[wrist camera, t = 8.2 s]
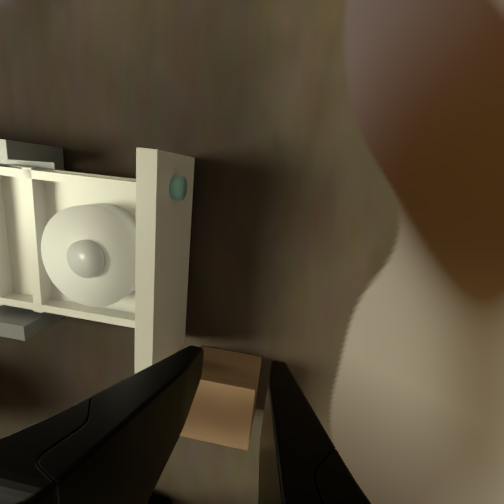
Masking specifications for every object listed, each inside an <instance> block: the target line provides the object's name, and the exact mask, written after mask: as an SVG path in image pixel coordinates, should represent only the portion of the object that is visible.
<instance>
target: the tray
mask: <svg viewBox="0 0 504 504" xmlns="http://www.w3.org/2000/svg"><path fill="white" fill-rule="evenodd" d="M194 162H195V158H193V157H189V156H184V155H180V154H175V153H171V152H166V151H161V150H156V149H146V148H137V147H136V179H134V178H126V177H117V176H108V175H100V174H91V173H82V172H73V171H65V170H56V169H47V168H38V167H30V166H21V165H12V164H3V163H0V306H2V305H8V306H13V307H19V308H25V309H30V310H34V312H39V313H43V312H47V313H53V314H59V315H64V316H70V317H75V318H81V319H87V320H92V321H98V322H104V323H109V324H115V325H121V326H126V327H132V328H135V373H137V372H139V371H141V370H143V369H145V368H147V367H149V366H151V365H153V364H155V363H157V362H159V361H161V360H163V359H165V358H167V357H169V356H171V355H172V354H174V353H176V352H177V350H178V349H179V348H180V346H181V345H182V343H183V342H184V341H185V328H186V310H187V291H188V273H189V254H190V236H191V217H192V199H193V180H194ZM97 203H105V204H111V205H114V206H117V207H120V208H122V209H124V210H125V211H127V212H128V213H130V214H131V215H132V216H133V217H134V218H135V219H136V255H135V290H134V291H133V292H131V293H130V294H128V295H127V296H125V297H124V298H122V299H121V300H119V301H118V302H116V303H114V304H112V305H108V306H103V307H92V306H86V305H83V304H80V303H77V302H75V301H73V300H71V299H70V298H68V297H67V296H66V295H64V294H63V293H62V292H61V291H60V290H59V289H58V288H57V287H56V286H55V285H54V283H53V282H52V281H51V279H50V277H49V276H48V274H47V272H46V270H45V267H44V264H43V260H42V255H41V240H42V235H43V232H44V229H45V227H46V225H47V223H48V222H49V220H50V219H51V218H52V217H53V216H54V215H55V214H57V213H58V212H60V211H61V210H63V209H66V208H68V207H72V206H79V205H88V204H97Z"/></svg>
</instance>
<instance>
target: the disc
mask: <svg viewBox="0 0 504 504" xmlns="http://www.w3.org/2000/svg"><path fill="white" fill-rule="evenodd" d="M41 255H42V260H43V264H44V267H45V270H46V272H47V274H48V276H49V277H50V279H51V281H52V282H53V283H54V285H55V286H56V287H57V288H58V289H59V290H60V291H61V292H62V293H63V294H64V295H66V296H67V297H68V298H70V299H71V300H73V301H75V302H77V303H80V304H83V305H86V306H92V307H103V306H108V305H112V304H114V303H116V302H118V301H119V300H121V299H122V298H124V297H125V296H127V295H128V294H130V293H131V292H133V291H134V290H135V255H136V219H135V218H134V217H133V216H132V215H131V214H130V213H128V212H127V211H125V210H124V209H122V208H120V207H117V206H114V205H111V204H105V203H97V204H88V205H79V206H72V207H68V208H66V209H63V210H61V211H60V212H58V213H57V214H55V215H54V216H53V217H52V218H51V219H50V220H49V222H48V223H47V225H46V227H45V229H44V232H43V235H42V240H41Z"/></svg>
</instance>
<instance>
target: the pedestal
mask: <svg viewBox="0 0 504 504" xmlns="http://www.w3.org/2000/svg"><path fill="white" fill-rule="evenodd" d="M200 347H202V348H203V350H204V355H203V368H202V376H201V380H200V383H199V386H198V388H197V391H196V394H195V397H194V400H193V403H192V405H191V408H190V411H189V414H188V417H187V419H186V422H185V425H184V427H183V430H182V432H181V434H180V436H183V437H188V438H192V439H197V440H202V441H206V442H211V443H215V444H220V445H224V446H229V447H234V448H238V449H243V450H247V451H248V446H249V441H250V435H251V430H252V424H253V419H254V414H255V408H256V400H257V392H258V384H259V376H260V369H261V361H262V357H261V356H256V355H250V354H244V353H239V352H233V351H228V350H222V349H217V348H211V347H205V346H200Z"/></svg>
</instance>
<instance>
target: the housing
mask: <svg viewBox="0 0 504 504" xmlns="http://www.w3.org/2000/svg"><path fill="white" fill-rule="evenodd" d="M0 163H3V164H12V165H21V166H30V167H38V168H47V169H56V170H64V160H63V148H62V147H55V146H47V145H40V144H33V143H26V142H19V141H12V140H4V139H0ZM65 317H66V316H64V315H59V314H53V313H47V312H43V313H39V312H34V310H30V309H25V308H19V307H13V306H8V305H2V306H0V336H2V337H7V338H13V339H18V340H23V341H26V340H27V339H29V338H31V337H32V336H34V335H36V334H37V333H39V332H41V331H43V330H44V329H46V328H48V327H49V326H51V325H53V324H54V323H56V322H58V321H60V320H61V319H63V318H65Z"/></svg>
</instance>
